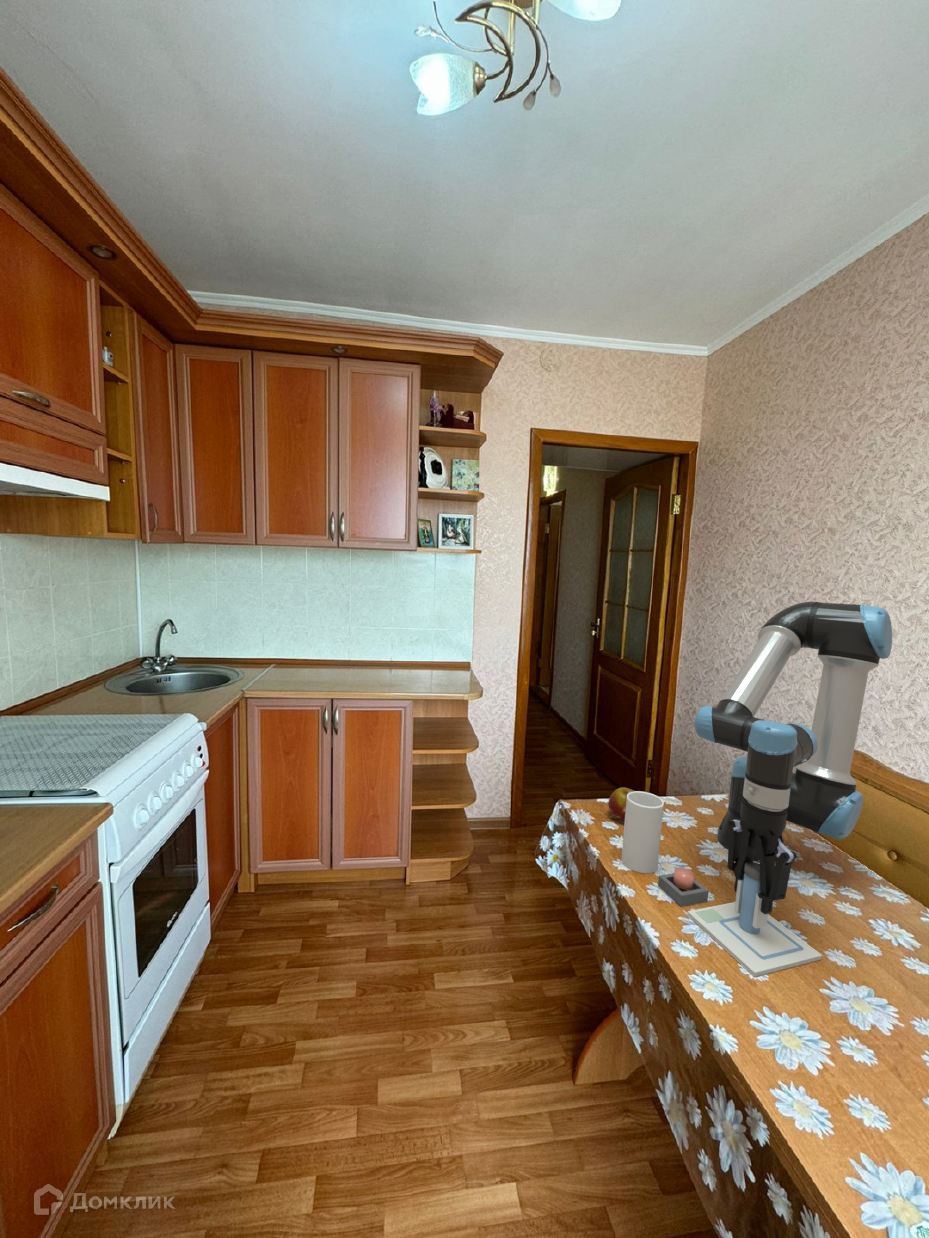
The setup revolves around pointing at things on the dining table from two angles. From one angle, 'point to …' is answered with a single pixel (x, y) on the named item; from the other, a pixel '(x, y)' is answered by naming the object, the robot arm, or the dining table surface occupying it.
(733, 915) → the board
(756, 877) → the marker
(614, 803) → the fruit
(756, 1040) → the dining table surface
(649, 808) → the cup
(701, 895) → the button housing
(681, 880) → the button
